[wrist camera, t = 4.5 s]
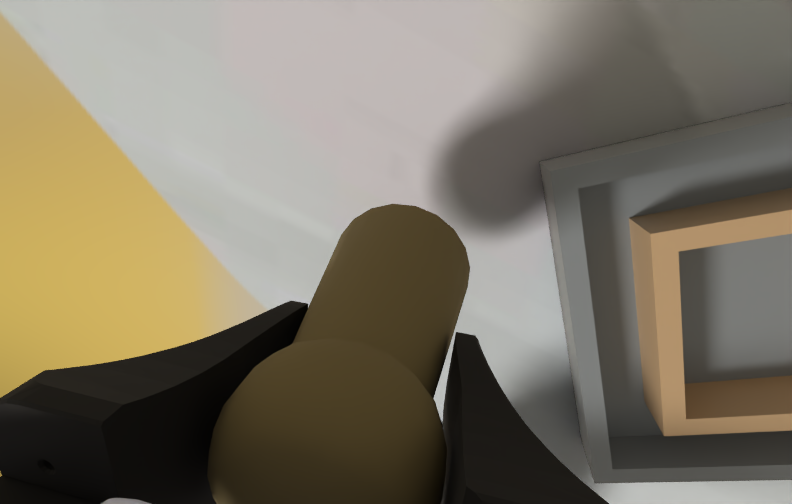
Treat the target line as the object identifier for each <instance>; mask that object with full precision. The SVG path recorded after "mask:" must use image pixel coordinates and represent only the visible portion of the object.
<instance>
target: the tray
mask: <svg viewBox="0 0 792 504" xmlns="http://www.w3.org/2000/svg"><path fill="white" fill-rule="evenodd" d="M539 163H540V169H541V176H542V183H543V189H544V196H545V203H546V209H547V216H548V222H549V229H550V236H551V242H552V249H553V255H554V262H555V269H556V275H557V282H558V288H559V295H560V302H561V308H562V315H563V321H564V328H565V335H566V341H567V348H568V354H569V361H570V368H571V374H572V381H573V388H574V394H575V401H576V407H577V414H578V421H579V427H580V434H581V440H582V444H583V447H584V450H585V453H586V457H587V460H588V463H589V466H590V469H591V473H592V476H593V479H594V482H595V483H635V482H692V481H749V480H792V103H788V104H783V105H779V106H775V107H771V108H766V109H762V110H758V111H754V112H749V113H745V114H741V115H736V116H732V117H728V118H724V119H719V120H715V121H711V122H707V123H702V124H698V125H694V126H690V127H685V128H681V129H677V130H672V131H668V132H664V133H660V134H655V135H651V136H647V137H643V138H638V139H634V140H630V141H625V142H621V143H617V144H613V145H608V146H604V147H600V148H596V149H591V150H587V151H583V152H579V153H574V154H570V155H566V156H561V157H557V158H553V159H549V160H544V161H540V162H539Z"/></svg>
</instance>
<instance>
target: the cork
mask: <svg viewBox="0 0 792 504" xmlns="http://www.w3.org/2000/svg"><path fill="white" fill-rule="evenodd" d="M469 272H470V266H469V261H468V257H467V252H466V248H465V246H464V245H463V243H462V241H461V240H460V238H459V237H458V235H457V233H456V232H455V230H454V229H453V228H452V227H450V226H449V225H448V224H447V223H446V222H444V221H443V220H442V219H441V218H440V217H438V216H437V215H436V214H433V213H431V212H428V211H426V210H424V209H421V208H419V207H416V206H409V205H399V204H390V205H385V206H381V207H376V208H372V209H370V210H368V211H367V212H365V213H363V214H362V215H360V216H358V217H357V218H355V219H354V220H353V221H352V222H351V223H350V225H349V226H348V227H347V228H346V230H345V231H344V232H343V233H342V235H341V237H340V239H339V241H338V244H337V246H336V248H335V250H334V252H333V255H332V257H331V259H330V261H329V263H328V266H327V268H326V270H325V272H324V275H323V277H322V279H321V281H320V283H319V286H318V288H317V290H316V292H315V294H314V297H313V299H312V301H311V303H310V305H309V308H308V310H307V312H306V314H305V316H304V319H303V321H302V323H301V325H300V328H299V330H298V332H297V334H296V336H295V339H294V341H293V343H292V344H291V345H289V346H287V347H285V348H283V349H281V350H279V351H277V352H275V353H273V354H272V355H270V356H269V357H267V358H266V359H265V360H263V361H262V362H261V363H259V364H258V365H257V366H255V367H254V368H253V369H252V371H251V372H250V373H249V374H248V375H247V377H246V378H245V379H244V380H243V381H242V383H241V384H240V385H239V386H238V387H237V389H236V390H235V391H234V393H233V394H232V395H231V396H230V398H229V399H228V400H227V401H226V403H225V404H224V405H223V408H222V410H221V412H220V415H219V417H218V419H217V422H216V424H215V427H214V429H213V434H212V439H211V444H210V448H209V457H208V472H207V477H208V481H209V485H210V489H211V493H212V496H213V499H214V500H215V502H216V503H217V504H441V501H442V497H443V490H444V483H445V476H446V461H447V445H446V441H445V436H444V431H443V427H442V423H441V420H440V417H439V413H438V410H437V407H436V403H435V401H434V399H433V398H434V395H435V391H436V388H437V385H438V381H439V378H440V375H441V372H442V368H443V365H444V362H445V359H446V355H447V352H448V349H449V346H450V342H451V339H452V336H453V333H454V329H455V326H456V323H457V319H458V316H459V313H460V310H461V306H462V303H463V300H464V297H465V293H466V290H467V287H468V279H469Z"/></svg>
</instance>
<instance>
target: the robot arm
mask: <svg viewBox="0 0 792 504" xmlns="http://www.w3.org/2000/svg"><path fill="white" fill-rule="evenodd" d="M307 310H308V304H306V303H301V302H295V301H289V302H287V303H284V304H282V305H280V306H277V307H275V308H273V309H271V310H269V311H267V312H264V313H262V314H260V315H258V316H256V317H254V318H252V319H250V320H247V321H245V322H243V323H241V324H238V325H236V326H233V327H231V328H229V329H226V330H224V331H221V332H219V333H216V334H214V335H211V336H209V337H206V338H203V339H200V340H197V341H195V342H191V343H189V344H185V345H182V346H179V347H175V348H171V349H167V350H164V351H160V352H156V353H152V354H148V355H144V356H139V357H135V358H130V359H125V360H119V361H114V362H108V363H103V364H96V365H89V366H80V367H72V368H64V369H56V370H45V371H43V372H41V373H40V374H38V375H36V376H35V377H33V378H32V379H30V380H28V381H27V382H25V383H24V384H22V385H20V386H19V387H17V388H16V389H14V390H12V391H11V392H9V393H8V394H6V395H4V396H3V397H1V398H0V471H1V474H2V476H1V477H0V504H217V503H216V502H215V500H214V499H213V496H212V493H211V489H210V485H209V481H208V477H207V472H208V457H209V448H210V444H211V439H212V434H213V429H214V427H215V424H216V422H217V419H218V417H219V415H220V412H221V410H222V408H223V405H224V404H225V403H226V401H227V400H228V399H229V398H230V396H231V395H232V394H233V393H234V391H235V390H236V389H237V387H238V386H239V385H240V384H241V383H242V381H243V380H244V379H245V378H246V377H247V375H248V374H249V373H250V372H251V371H252V369H253V368H254V367H255V366H257V365H258V364H259V363H261V362H262V361H263V360H265V359H266V358H267V357H269V356H270V355H272V354H273V353H275V352H277V351H279V350H281V349H283V348H285V347H287V346H289V345H291V344H292V343H293V341H294V339H295V336H296V334H297V332H298V330H299V328H300V325H301V323H302V321H303V319H304V316H305V314H306V312H307ZM443 431H444V436H445V441H446V445H447V461H446V476H445V483H444V490H443V497H442V501H441V504H609V503H608V502H606V501H605V500H604V499H603V498H601V497H600V496H599V495H598V494H597V493H595V492H594V491H593V490H592V489H590V488H589V487H588V486H587V485H586V484H584V483H583V482H582V481H581V480H580V479H578V478H577V477H576V476H575V475H574V474H573V473H572V472H571V471H570V470H569V469H568V468H567V467H565V466H564V465H563V464H562V463H561V462H560V461H559V460H558V459H557V458H556V457H555V456H554V455H553V454H552V453H551V452H550V451H549V450H548V449H547V448H546V447H545V445H544V444H543V443H542V442H541V441H540V440H539V439H538V438H537V437H536V436H535V434H534V433H533V432H532V431H531V430H530V429H529V428H528V426H527V425H526V424H525V423H524V421H523V420H522V419H521V417H520V416H519V415H518V413H517V412H516V410H515V409H514V408H513V406H512V405H511V403H510V402H509V400H508V399H507V397H506V395H505V394H504V392H503V391H502V389H501V387H500V386H499V384H498V382H497V380H496V378H495V376H494V375H493V373H492V371H491V369H490V367H489V365H488V363H487V361H486V359H485V356H484V354H483V352H482V349H481V347H480V344H479V341H478V339H477V338H476V336H474V335H469V334H464V333H458V332H456V336H455V341H454V347H453V352H452V358H451V363H450V368H449V374H448V379H447V386H446V394H445V402H444V410H443Z"/></svg>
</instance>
